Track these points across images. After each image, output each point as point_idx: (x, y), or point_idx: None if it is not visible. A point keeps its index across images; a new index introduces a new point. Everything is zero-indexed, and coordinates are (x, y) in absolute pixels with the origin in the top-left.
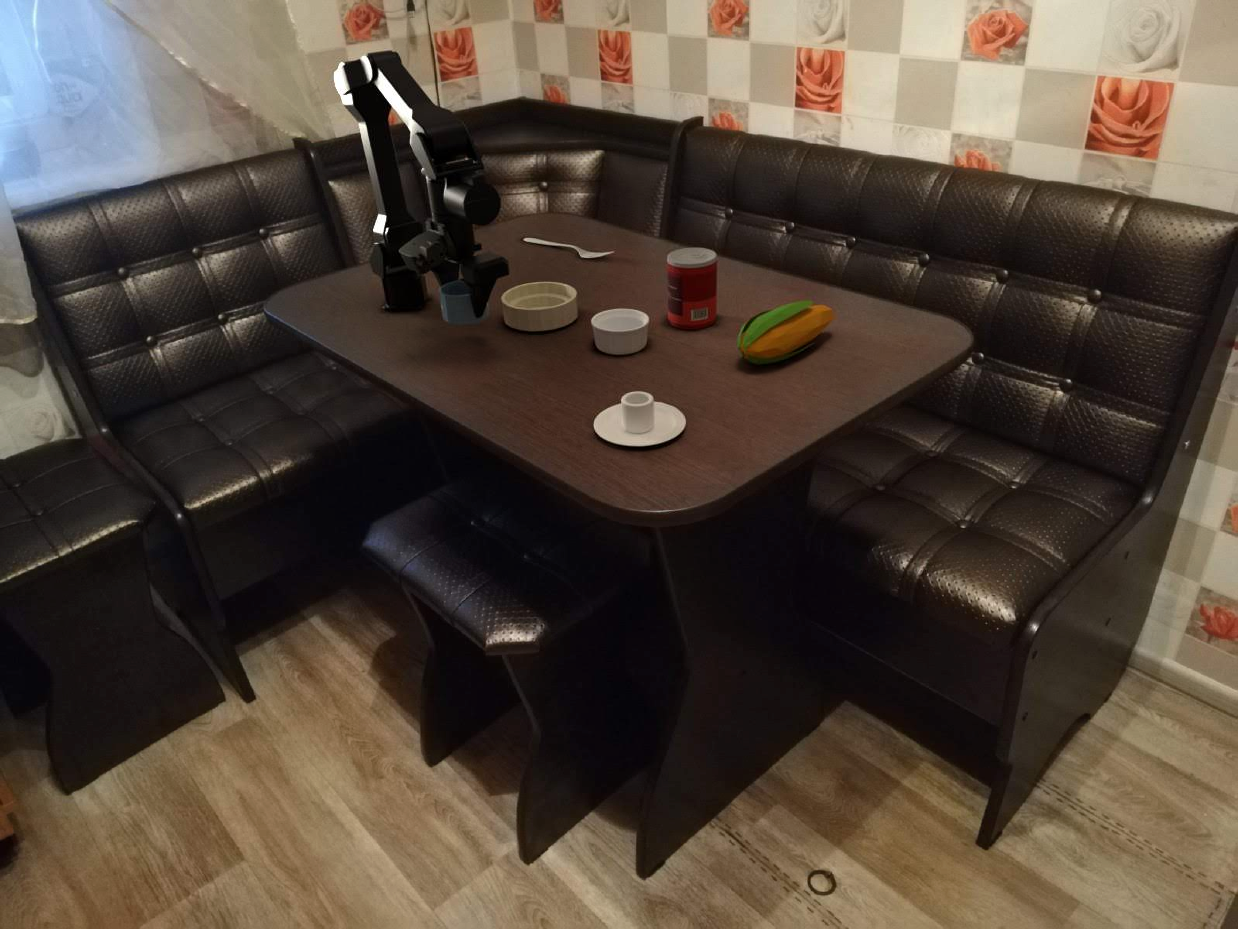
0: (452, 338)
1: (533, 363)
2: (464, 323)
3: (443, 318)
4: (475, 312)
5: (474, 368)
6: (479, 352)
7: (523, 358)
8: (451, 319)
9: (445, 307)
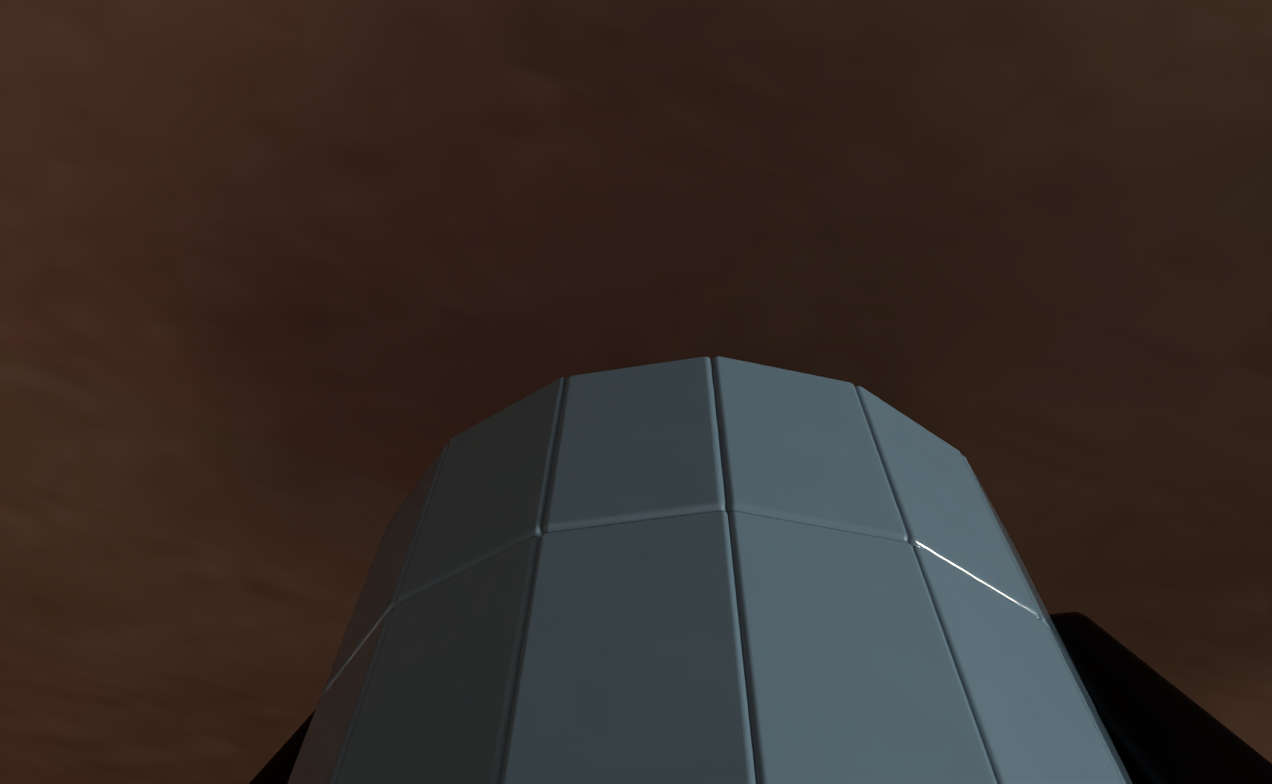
0: (965, 323)
1: (61, 606)
2: (390, 522)
3: (759, 372)
4: (275, 760)
5: (131, 219)
6: (480, 392)
7: (183, 591)
8: (502, 440)
9: (587, 542)
